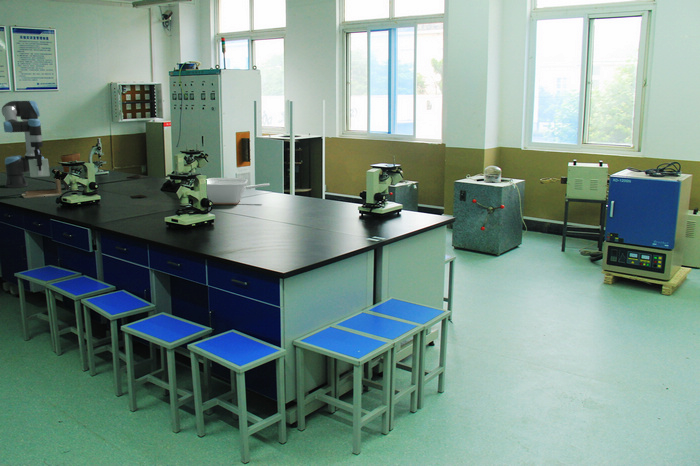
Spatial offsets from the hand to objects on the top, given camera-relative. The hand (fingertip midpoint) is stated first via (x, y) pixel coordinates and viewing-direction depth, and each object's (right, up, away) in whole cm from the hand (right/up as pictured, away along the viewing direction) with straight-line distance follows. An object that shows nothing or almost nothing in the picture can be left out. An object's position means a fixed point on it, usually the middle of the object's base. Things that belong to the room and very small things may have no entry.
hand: (40, 174), depth 423 cm
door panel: (0, -1, 0) cm, 1 cm away
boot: (+12, -7, +38) cm, 40 cm away
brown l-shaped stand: (-1, -14, +5) cm, 15 cm away
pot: (+142, -21, -10) cm, 144 cm away
